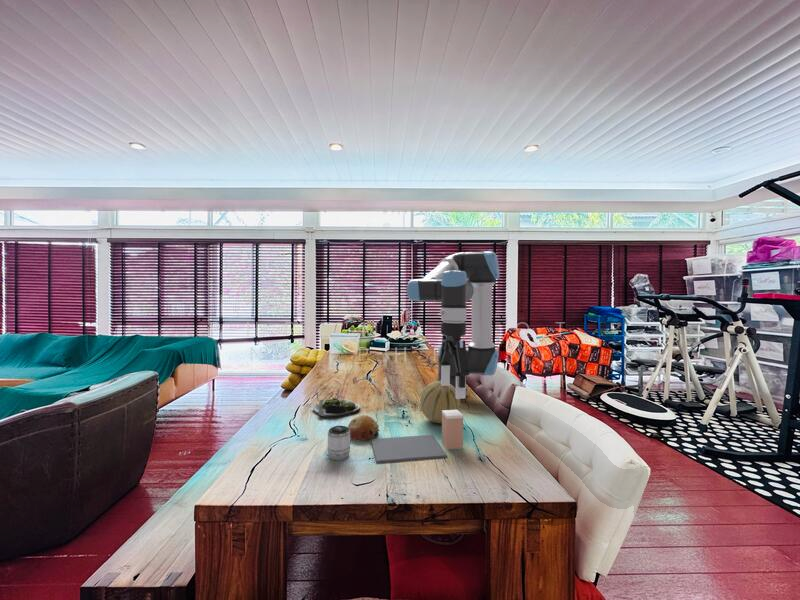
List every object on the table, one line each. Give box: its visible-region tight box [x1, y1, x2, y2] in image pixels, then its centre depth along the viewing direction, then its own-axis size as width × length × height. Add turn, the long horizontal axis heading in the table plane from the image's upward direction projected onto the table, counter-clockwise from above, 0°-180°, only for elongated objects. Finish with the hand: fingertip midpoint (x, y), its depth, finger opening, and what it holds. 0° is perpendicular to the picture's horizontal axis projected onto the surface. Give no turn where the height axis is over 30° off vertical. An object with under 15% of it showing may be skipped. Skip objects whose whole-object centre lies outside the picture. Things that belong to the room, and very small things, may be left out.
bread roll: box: [347, 414, 380, 442], centre depth 110 cm, size 10×10×8 cm
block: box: [441, 410, 464, 450], centre depth 103 cm, size 5×5×10 cm
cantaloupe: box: [419, 380, 461, 424], centre depth 122 cm, size 15×15×15 cm
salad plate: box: [312, 397, 361, 419], centre depth 134 cm, size 19×18×5 cm
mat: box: [370, 434, 448, 464], centre depth 101 cm, size 20×14×1 cm
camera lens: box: [327, 425, 351, 461], centre depth 96 cm, size 6×6×8 cm
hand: (452, 391), depth 103 cm, fingers open, 13 cm apart
